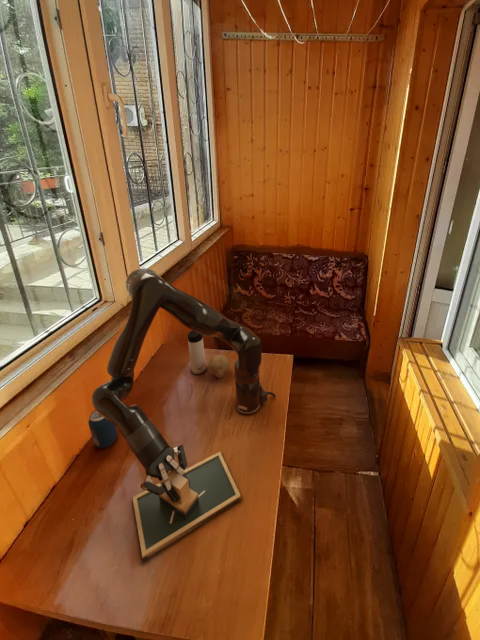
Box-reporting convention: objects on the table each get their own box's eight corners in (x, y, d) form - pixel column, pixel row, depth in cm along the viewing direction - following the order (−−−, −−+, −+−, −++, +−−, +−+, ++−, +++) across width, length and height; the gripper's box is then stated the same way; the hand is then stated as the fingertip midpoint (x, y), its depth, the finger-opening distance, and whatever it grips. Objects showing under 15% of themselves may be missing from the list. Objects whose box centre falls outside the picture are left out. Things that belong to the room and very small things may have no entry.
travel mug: (202, 375, 136) (198, 337, 130) (189, 373, 138) (184, 335, 131) (209, 366, 142) (205, 328, 135) (195, 364, 143) (191, 327, 137)
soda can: (120, 430, 110) (114, 404, 106) (113, 448, 104) (107, 421, 100) (99, 433, 109) (92, 407, 105) (91, 451, 102) (83, 424, 98)
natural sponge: (224, 365, 143) (222, 346, 140) (234, 375, 137) (233, 356, 134) (206, 374, 137) (204, 355, 134) (216, 385, 131) (215, 365, 128)
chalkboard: (220, 455, 102) (220, 451, 101) (240, 500, 89) (240, 495, 88) (133, 501, 88) (132, 497, 88) (143, 561, 76) (142, 556, 75)
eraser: (159, 501, 87) (155, 478, 84) (173, 484, 91) (169, 463, 88) (185, 520, 83) (182, 497, 80) (199, 502, 87) (196, 480, 84)
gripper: (128, 460, 78) (169, 518, 77) (172, 419, 90) (207, 469, 88) (118, 465, 82) (156, 520, 81) (161, 425, 94) (195, 473, 92)
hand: (183, 493), depth 85 cm, fingers closed on eraser, 3 cm apart
